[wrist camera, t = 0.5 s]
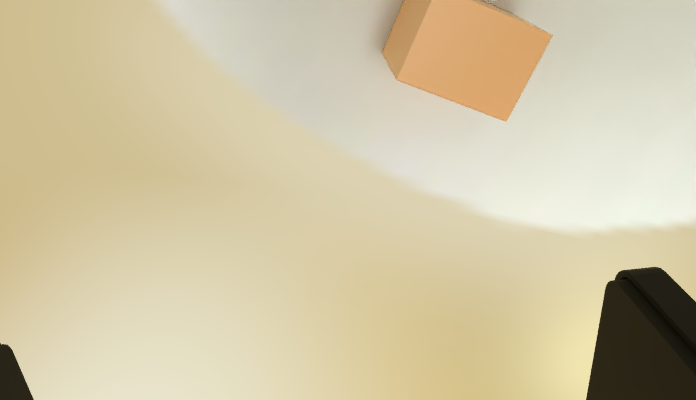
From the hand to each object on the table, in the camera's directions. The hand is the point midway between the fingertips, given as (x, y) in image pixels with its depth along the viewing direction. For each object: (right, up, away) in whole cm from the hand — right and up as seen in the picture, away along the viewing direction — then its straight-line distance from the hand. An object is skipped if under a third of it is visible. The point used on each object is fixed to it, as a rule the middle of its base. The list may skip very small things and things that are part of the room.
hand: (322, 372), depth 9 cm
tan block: (+6, +12, +23) cm, 26 cm away
